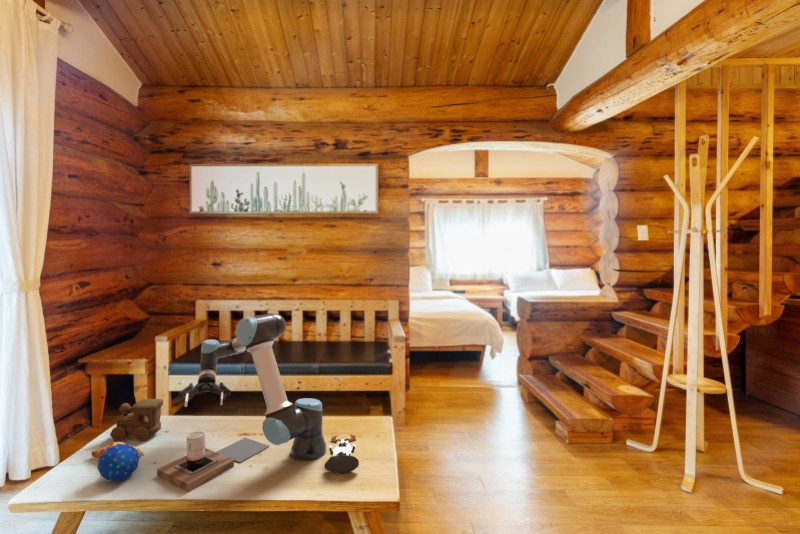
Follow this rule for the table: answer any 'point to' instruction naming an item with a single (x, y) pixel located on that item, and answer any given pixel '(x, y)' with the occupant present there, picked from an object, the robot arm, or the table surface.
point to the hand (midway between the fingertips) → (204, 403)
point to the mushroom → (118, 462)
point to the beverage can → (195, 451)
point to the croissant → (102, 450)
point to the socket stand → (190, 480)
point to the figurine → (342, 456)
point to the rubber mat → (242, 449)
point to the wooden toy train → (138, 420)
